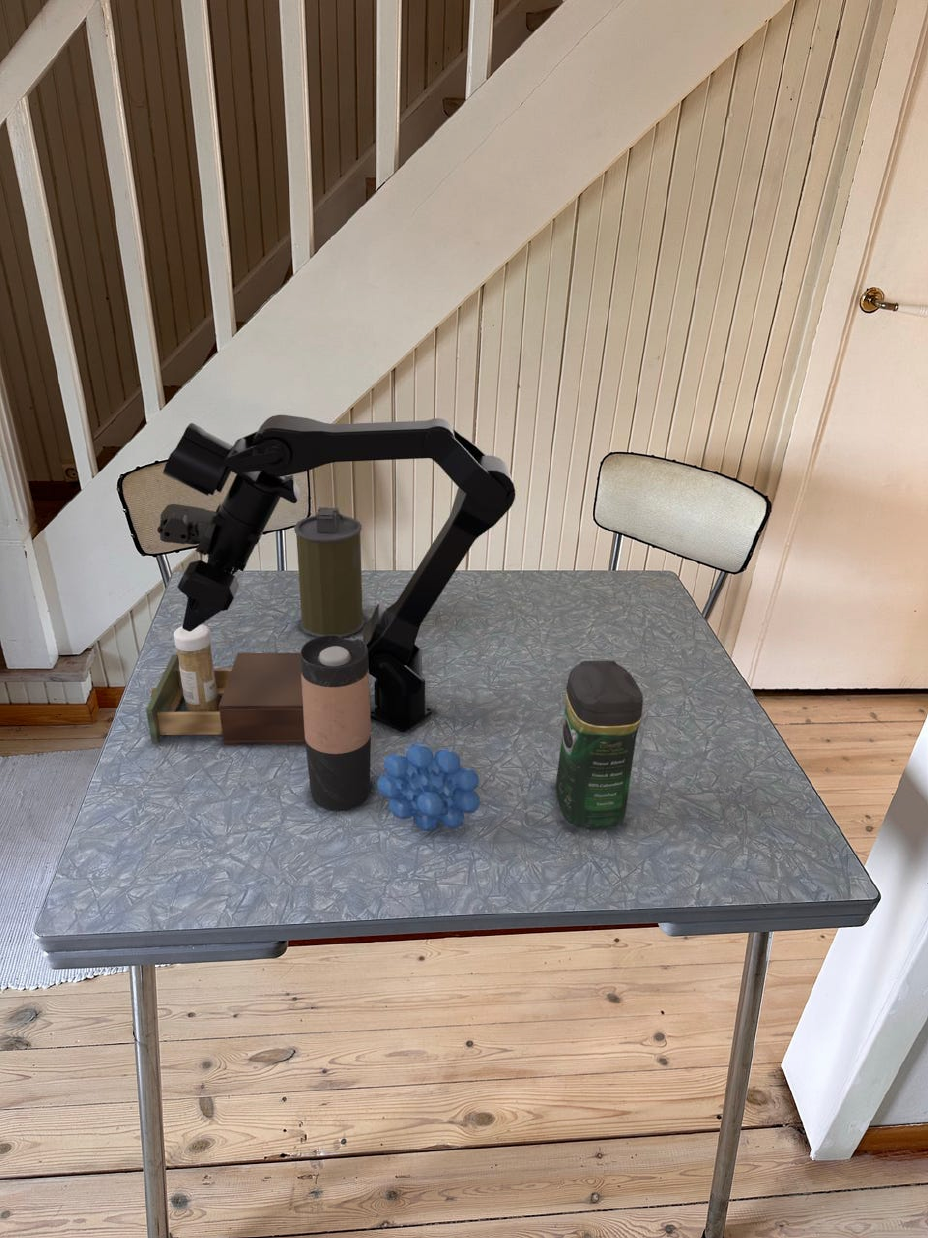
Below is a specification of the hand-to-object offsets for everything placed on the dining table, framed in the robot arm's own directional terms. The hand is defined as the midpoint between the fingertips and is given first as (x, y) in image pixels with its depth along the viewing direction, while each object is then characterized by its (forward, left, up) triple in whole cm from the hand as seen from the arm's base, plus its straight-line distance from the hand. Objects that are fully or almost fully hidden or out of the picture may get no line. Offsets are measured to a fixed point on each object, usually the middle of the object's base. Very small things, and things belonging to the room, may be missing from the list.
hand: (194, 612), depth 108 cm
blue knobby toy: (-38, -1, -16) cm, 41 cm away
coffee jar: (-50, -17, -16) cm, 55 cm away
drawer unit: (-7, -6, -16) cm, 19 cm away
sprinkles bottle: (+1, 0, -16) cm, 16 cm away
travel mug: (-25, 0, -16) cm, 30 cm away
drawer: (0, 0, -16) cm, 16 cm away
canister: (+6, -30, -16) cm, 35 cm away
